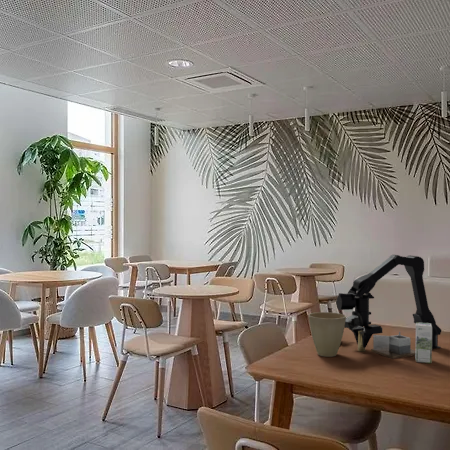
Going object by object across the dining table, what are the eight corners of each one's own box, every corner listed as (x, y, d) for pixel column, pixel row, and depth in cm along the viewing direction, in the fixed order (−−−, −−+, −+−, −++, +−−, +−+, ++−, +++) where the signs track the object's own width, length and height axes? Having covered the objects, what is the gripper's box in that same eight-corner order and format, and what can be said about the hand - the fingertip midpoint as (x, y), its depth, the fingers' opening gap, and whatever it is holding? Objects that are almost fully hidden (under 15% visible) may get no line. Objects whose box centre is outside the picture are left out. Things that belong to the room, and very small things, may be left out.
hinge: (398, 347, 216) (398, 331, 216) (420, 354, 205) (420, 337, 205) (371, 351, 210) (371, 334, 210) (392, 358, 199) (392, 340, 199)
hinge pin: (362, 349, 213) (362, 330, 213) (366, 351, 211) (367, 331, 210) (356, 350, 212) (356, 331, 212) (361, 351, 209) (361, 332, 209)
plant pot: (352, 354, 205) (352, 315, 205) (333, 361, 194) (333, 320, 194) (320, 347, 215) (321, 310, 215) (300, 354, 205) (301, 315, 204)
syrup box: (431, 359, 197) (431, 322, 197) (431, 364, 192) (432, 325, 192) (415, 358, 199) (415, 321, 199) (415, 362, 194) (416, 324, 194)
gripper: (332, 307, 216) (332, 343, 216) (361, 314, 199) (361, 354, 199) (353, 305, 221) (352, 341, 221) (383, 312, 204) (383, 351, 204)
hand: (361, 346), depth 211 cm, fingers closed on hinge pin, 3 cm apart
